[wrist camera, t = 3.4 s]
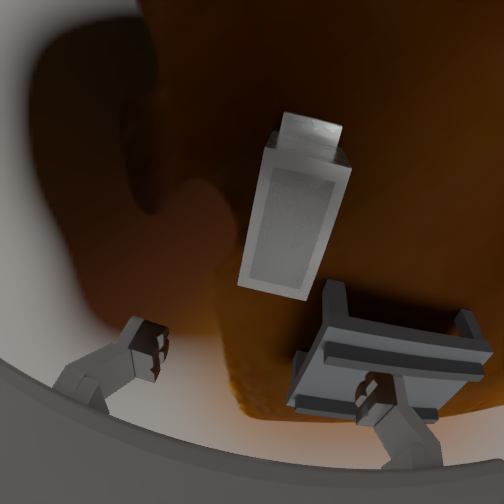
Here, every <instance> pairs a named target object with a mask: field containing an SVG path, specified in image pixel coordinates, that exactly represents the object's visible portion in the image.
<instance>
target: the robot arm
mask: <svg viewBox="0 0 504 504" xmlns="http://www.w3.org/2000/svg"><path fill="white" fill-rule="evenodd" d="M168 334H169V328H168V327H166V326H163V325H159V324H157V323H153V322H150V321H148V320H145V319H141V318H138V317H135V316H133V317H132V318H130V320H129V322H128V323H127V325H126V326H125V328H124V330H123V331H122V333H121V335H120V336H119V338H118V340H117V341H116V343H115V344H113V343H111V344H109V345H107V346H105V347H103V348H101V349H98V350H97V351H94V352H92V353H90V354H88V355H86V356H84V357H82V358H80V359H78V360H76V361H74V362H72V363H70V364H68V365H66V367H65V368H64V370H63V371H62V373H61V374H60V376H59V378H58V379H57V381H56V382H55V384H54V385H53V387H52V388H51V387H49V386H47V385H45V384H43V383H41V382H39V381H38V380H36V379H34V378H32V377H31V376H28V375H27V374H25V373H24V372H22V371H20V370H19V369H17V368H15V367H14V366H12V365H10V364H9V363H7V362H6V361H4V360H3V359H1V358H0V504H504V460H502V459H492V460H486V461H481V462H474V463H468V464H460V465H452V466H443V459H442V452H441V446H440V442H439V441H438V439H437V438H436V437H435V436H434V434H433V433H432V432H431V431H430V429H429V428H428V427H427V426H426V424H425V423H424V422H423V421H422V419H421V418H420V417H419V416H418V414H417V413H416V412H415V411H414V409H413V408H412V407H409V406H408V400H407V394H406V389H405V384H404V379H403V376H402V375H397V374H390V373H382V372H374V371H369V372H368V373H367V374H366V375H365V380H364V381H362V382H360V384H359V385H358V387H357V389H356V392H355V404H356V405H357V406H358V409H357V410H356V412H355V416H356V425H360V426H370V427H374V430H375V432H376V433H377V435H378V437H379V439H380V440H381V442H382V444H383V446H384V447H385V449H386V451H387V453H388V454H389V456H390V458H391V460H390V461H389V462H388V463H386V464H385V465H383V466H382V467H381V469H377V470H376V469H345V468H331V467H330V468H329V467H319V466H309V465H300V464H292V463H285V462H278V461H272V460H265V459H260V458H254V457H249V456H243V455H239V454H234V453H229V452H225V451H221V450H217V449H213V448H208V447H205V446H201V445H197V444H193V443H190V442H186V441H183V440H179V439H175V438H173V437H169V436H166V435H163V434H160V433H157V432H154V431H151V430H148V429H145V428H142V427H140V426H137V425H134V424H131V423H129V422H126V421H124V420H121V419H118V418H116V417H113V416H111V415H109V413H110V412H109V410H108V407H107V405H106V402H105V398H107V397H108V396H110V395H111V394H113V393H114V392H116V391H117V390H119V389H120V388H122V387H123V386H124V385H126V384H127V383H129V382H130V381H132V380H133V379H135V377H137V378H140V379H143V380H147V381H150V382H153V383H155V381H156V379H157V377H158V375H159V372H160V364H161V363H163V362H164V361H165V359H166V356H167V353H168V348H169V340H168V339H167V336H168Z"/></svg>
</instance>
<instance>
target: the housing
mask: <svg viewBox="0 0 504 504" xmlns="http://www.w3.org/2000/svg"><path fill="white" fill-rule="evenodd" d="M341 130H342V125H340V124H337V123H333V122H330V121H326V120H322V119H318V118H314V117H310V116H306V115H302V114H298V113H294V112H289V111H284V114H283V119H282V123H281V128H280V132H278V131H274V130H273V131H272V133H271V135H270V137H269V139H268V141H267V143H266V145H265V148H264V153H263V158H262V163H261V168H260V173H259V178H258V183H257V188H256V193H255V198H254V203H253V208H252V213H251V218H250V223H249V228H248V233H247V239H246V244H245V249H244V254H243V259H242V264H241V269H240V274H239V279H238V286H243V287H247V288H251V289H255V290H259V291H264V292H268V293H272V294H277V295H281V296H286V297H290V298H294V299H299V300H303V301H306V300H307V297H308V295H309V292H310V289H311V287H312V284H313V281H314V279H315V276H316V273H317V271H318V268H319V265H320V262H321V260H322V257H323V254H324V251H325V248H326V246H327V243H328V240H329V237H330V234H331V231H332V228H333V225H334V222H335V219H336V217H337V214H338V211H339V208H340V204H341V201H342V198H343V195H344V192H345V189H346V186H347V183H348V180H349V176H350V173H351V170H352V168H351V166H350V164H349V161H348V159H347V157H346V155H345V153H344V150H343V148H342V147H338V146H337V145H338V141H339V138H340V134H341Z"/></svg>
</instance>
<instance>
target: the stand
mask: <svg viewBox="0 0 504 504" xmlns="http://www.w3.org/2000/svg"><path fill="white" fill-rule="evenodd" d="M322 311H323V324H322V326H321V328H320V330H319V332H318V334H317V336H316V338H315V340H314V342H313V345H312V347H311V349H310V351H309V352H303V351H298V350H297V352H296V354H295V356H294V358H293V366H292V377H291V388H290V390H289V392H288V394H287V404H286V405H287V406H293V407H295V409H294V412H296V413H302V414H309V415H316V416H323V417H331V418H340V419H349V420H356V416H355V412H356V410H357V409H358V406H357V405H356V404H355V392H356V389H357V387H358V385H359V384H360V382H362V381H364V380H365V375H366V374H367V373H368V372H369V371H374V372H382V373H390V374H397V375H402V376H403V379H404V384H405V389H406V394H407V400H408V406H409V407H412V408H413V409H414V411H415V412H416V413H417V414H418V416H419V417H420V418H421V419H422V421H423V422H424V423H425V424H434V423H435V422H436V421H438V420H439V418H438V413H437V410H439V409H440V408H441V407H442V406H443V405H444V404H445V403H446V402H447V401H448V400H449V399H450V398H451V397H452V396H453V395H454V394H455V393H456V392H457V391H458V390H460V388H461V387H462V386H463V385H464V384H465V383H466V382H467V381H474V382H479V381H480V380H481V379H482V378H483V377H484V376H485V373H484V370H483V367H482V365H483V364H484V363H485V362H486V361H487V360H488V358H489V357H490V356H491V355H492V354H493V351H492V349H491V346H490V344H489V342H488V341H485V339H484V337H483V334H482V332H481V330H480V328H479V325H478V323H477V321H476V319H475V317H474V315H473V312H472V311H469V310H465V309H461V310H460V311H459V313H458V314H457V316H456V317H455V319H454V322H455V325H456V327H457V330H458V332H459V335H460V337H458V336H452V335H446V334H440V333H434V332H428V331H422V330H417V329H411V328H406V327H400V326H395V325H389V324H384V323H379V322H374V321H369V320H364V319H359V318H354V317H349V315H348V306H347V297H346V289H345V283H344V282H340V281H336V280H331V279H327V281H326V284H325V286H324V289H323V291H322Z"/></svg>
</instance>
